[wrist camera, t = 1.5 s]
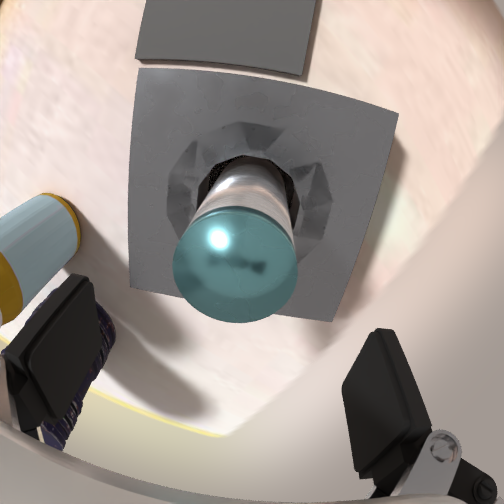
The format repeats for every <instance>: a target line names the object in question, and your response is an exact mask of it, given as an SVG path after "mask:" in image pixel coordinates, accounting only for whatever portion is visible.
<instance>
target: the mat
mask: <svg viewBox="0 0 504 504" xmlns="http://www.w3.org/2000/svg"><path fill="white" fill-rule="evenodd" d="M315 3H316V0H146V4H145V9H144V13H143V18H142V22H141V27H140V32H139V37H138V42H137V48H136V54H135V59H138V60H185V61H200V62H212V63H222V64H231V65H239V66H247V67H254V68H260V69H266V70H272V71H278V72H283V73H288V74H293V75H298V76H302V72H303V67H304V61H305V56H306V51H307V46H308V40H309V35H310V30H311V24H312V19H313V14H314V8H315Z"/></svg>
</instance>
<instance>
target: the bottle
mask: <svg viewBox="0 0 504 504" xmlns="http://www.w3.org/2000/svg"><path fill="white" fill-rule="evenodd" d="M80 239H81V234H80V227H79V223H78V220H77V217H76V215H75V213H74V211H73V210H72V208H71V207H70V206H69V205H68V204H67V203H66V202H65V201H64V200H63V199H62V198H60V197H59V196H56V195H54V194H51V193H42V194H40V195H38V196H36V197H33V198H32V199H30V200H28V201H27V202H25V203H23V204H22V205H20V206H18V207H17V208H15V209H13V210H12V211H10V212H9V213H7V214H6V215H4V216H2V217H1V218H0V327H1V326H2V325H4V324H6V323H8V322H10V321H12V320H14V319H15V318H16V317H17V316H18V315H19V314H20V313H21V312H22V311H23V309H24V308H25V307H26V306H27V305H28V304H29V303H30V301H31V300H32V299H33V298H34V297H35V296H36V295H37V294H38V293H39V292H40V290H41V289H42V288H43V287H44V286H45V285H46V284H47V283H48V282H49V281H50V280H51V279H52V278H53V277H54V276H55V274H56V273H57V272H58V271H59V270H60V269H61V268H62V267H63V266H64V265H65V264H66V263H67V262H68V261H69V260H70V259H71V258H72V257H73V256H74V255H75V254H76V252H77V250H78V248H79V246H80Z"/></svg>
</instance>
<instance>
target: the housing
mask: <svg viewBox="0 0 504 504" xmlns="http://www.w3.org/2000/svg"><path fill="white" fill-rule="evenodd" d="M398 116H399V113H396V112H393V111H390V110H388V109H385V108H382V107H379V106H376V105H372V104H369V103H366V102H363V101H360V100H356V99H353V98H349V97H346V96H342V95H338V94H335V93H331V92H327V91H323V90H319V89H315V88H310V87H306V86H301V85H297V84H292V83H287V82H282V81H277V80H271V79H265V78H259V77H253V76H246V75H238V74H231V73H222V72H212V71H201V70H188V69H168V68H139V71H138V78H137V85H136V93H135V101H134V110H133V120H132V132H131V145H130V161H129V184H128V249H129V273H130V287H132V288H137V289H141V290H146V291H151V292H155V293H160V294H165V295H170V296H175V297H180V298H184V297H183V296H182V294H181V293H180V291H179V289H178V287H177V285H176V283H175V280H174V276H173V269H172V262H173V255H174V252H175V249H176V247H177V244H178V242H179V241H180V239H181V237H182V236H183V234H184V232H185V231H186V229H187V227H188V226H189V224H190V222H191V221H192V219H193V217H194V216H195V214H196V212H197V211H198V209H199V208H200V206H201V204H202V203H203V201H204V199H205V198H206V196H207V195H208V185H209V177H210V171H211V169H212V168H213V167H214V166H215V164H218V163H221V162H223V161H226V160H229V159H231V158H234V157H237V156H240V155H247V156H253V157H258V158H264V159H269V160H271V161H273V162H274V163H275V164H276V165H277V166H279V167H280V168H281V169H282V170H283V171H284V172H286V173H287V174H288V175H289V176H290V177H291V178H292V180H293V182H294V185H295V190H294V194H293V199H292V203H291V207H290V208H289V215H290V221H291V228H292V234H293V240H294V247H295V253H296V260H297V268H298V277H297V283H296V286H295V289H294V292H293V294H292V295H291V297H290V299H289V300H288V301H287V303H286V304H285V305H284V306H283V307H282V308H281V309H279V310H278V311H277V312H275V313H274V314H278V315H284V316H291V317H298V318H305V319H313V320H320V321H328V322H332V321H333V318H334V316H335V313H336V311H337V309H338V306H339V304H340V301H341V299H342V296H343V294H344V291H345V288H346V286H347V283H348V281H349V278H350V275H351V273H352V270H353V267H354V265H355V262H356V259H357V256H358V253H359V251H360V248H361V245H362V242H363V239H364V236H365V233H366V230H367V227H368V224H369V221H370V218H371V215H372V212H373V208H374V205H375V202H376V199H377V195H378V192H379V189H380V185H381V182H382V178H383V175H384V171H385V168H386V164H387V160H388V156H389V153H390V149H391V145H392V141H393V137H394V133H395V129H396V124H397V120H398Z"/></svg>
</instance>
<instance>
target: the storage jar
mask: <svg viewBox="0 0 504 504" xmlns="http://www.w3.org/2000/svg"><path fill="white" fill-rule="evenodd" d="M57 289H58V288H56V289H54V290H53V291H52V292H51V293H50V294H49V295H48V296H47V298H46V299H45V300H44V301H43V302H41V303H40V304H39V305H38V306H37V307H36V309H35V310H34V311H33V313H32V315H31V316H30V317H29V319H28V320H27V321H26V323H27V322H28V321H29V320H30V319H31V318H32V316H33V315H34V314H35V313H36V312H37V311H38V310H39V308H40V307H41V306H42V305H43V304H44V303H45V302H46V301H47V299H48V298H49V297H50V296H51V295H52V294H53V293H54V292H55V291H56V290H57ZM95 302H96V301H95ZM96 308H97V315H98V320H99V326H100V331H101V337H102V346H101V349H100V351H99V353H98V355H97V356H96V358H95V360H94V362H93V364H92V365H91V367H90V369H89V371H88V373H87V374H86V376H85V378H84V380H83V382H82V383H81V385H80V387H79V389H78V391H77V393H76V395H75V397H74V399H73V400H72V402H71V404H70V406H69V408H68V410H67V412H66V414H65V416H64V418H63V419H62V420H58V422H57V424H56V426H54V425H52V424H50V423H48V422H45V421H42V423H41V425H40V428H41V432H42V436H43V439H44V443H45V444H47V445H49V446H51V447H53V448H55V449H58V450H60V451H63V449H64V447H65V444H66V441H65V440H67V439H68V437H69V435H70V433H71V431H72V430H73V429H74V426H75V424H76V422H77V417H78V415H79V414H80V413H81V408H82V406H83V402H82V400H83V399H84V397H85V395H86V393H87V391H88V389H89V387H90V385H91V382H92V381H94V380H95V379H96V377H97V376H98V374H99V372H100V370H101V369H102V368H103V366H104V364H105V362H106V360H107V357H108V354H109V352H110V349H111V348H112V346H113V344H114V342H115V339H116V333H115V328H114V325H113V323H112V321H111V319H110V317H109V316H108V314H107V313H106V311H105V310H104V309H103V308H102V307H101V306H100V305H99V304H98V303H97V302H96ZM26 323H25V325H26ZM25 325H24V326H25ZM7 347H8V346H7ZM7 347H6V348H7ZM6 348H5V349H6ZM5 349H3V350H2V351H1V355H2V357H3V355H4V354H5Z"/></svg>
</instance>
